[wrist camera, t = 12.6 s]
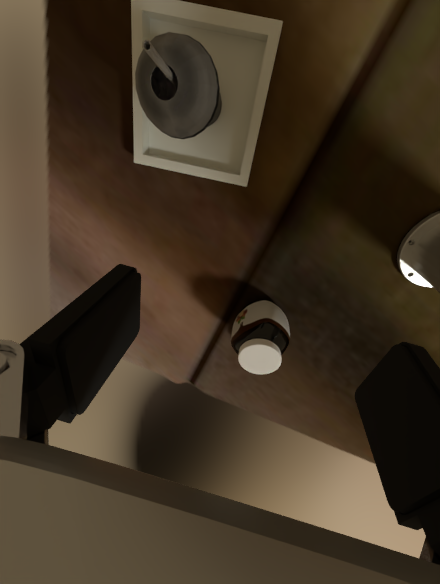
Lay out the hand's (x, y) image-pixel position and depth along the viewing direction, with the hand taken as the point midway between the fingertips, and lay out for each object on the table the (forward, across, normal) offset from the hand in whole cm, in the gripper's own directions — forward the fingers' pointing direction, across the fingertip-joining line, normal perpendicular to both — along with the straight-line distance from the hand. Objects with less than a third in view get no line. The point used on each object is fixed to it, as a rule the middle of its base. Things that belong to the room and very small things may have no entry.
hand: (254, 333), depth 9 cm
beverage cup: (+31, +11, -8) cm, 34 cm away
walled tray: (+32, +11, -8) cm, 35 cm away
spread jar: (+33, -6, +25) cm, 42 cm away
